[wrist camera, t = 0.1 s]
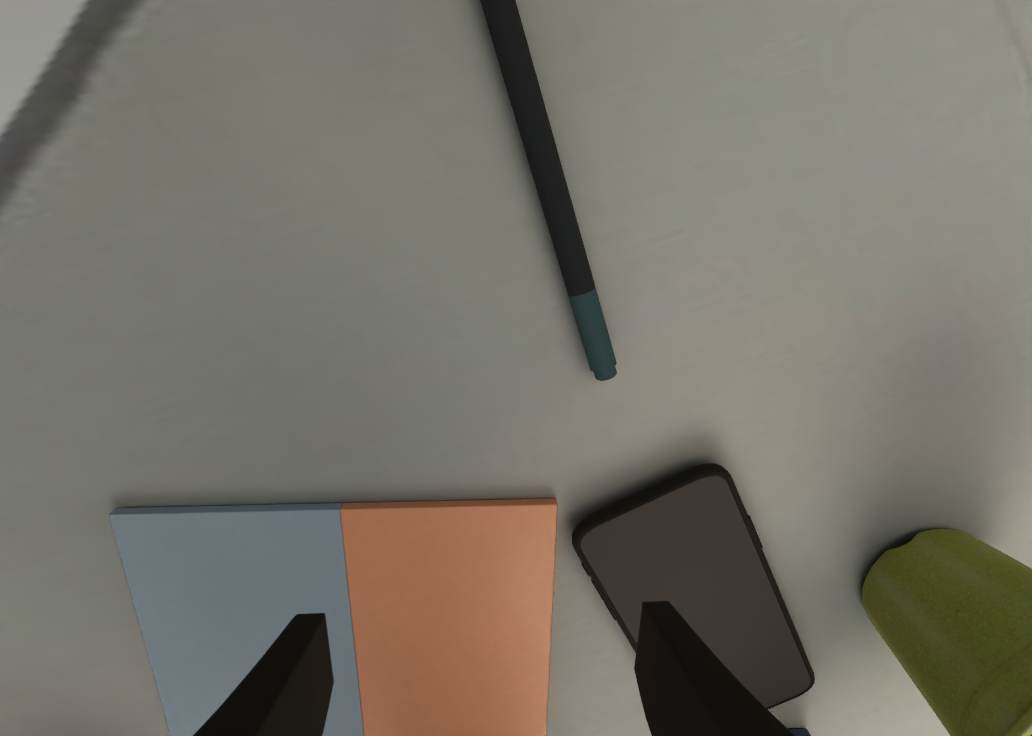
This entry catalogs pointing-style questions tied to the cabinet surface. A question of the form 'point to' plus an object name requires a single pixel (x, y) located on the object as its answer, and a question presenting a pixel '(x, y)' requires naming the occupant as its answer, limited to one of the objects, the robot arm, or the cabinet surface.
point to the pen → (549, 180)
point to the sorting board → (353, 607)
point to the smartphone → (698, 576)
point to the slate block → (799, 732)
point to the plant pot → (958, 629)
